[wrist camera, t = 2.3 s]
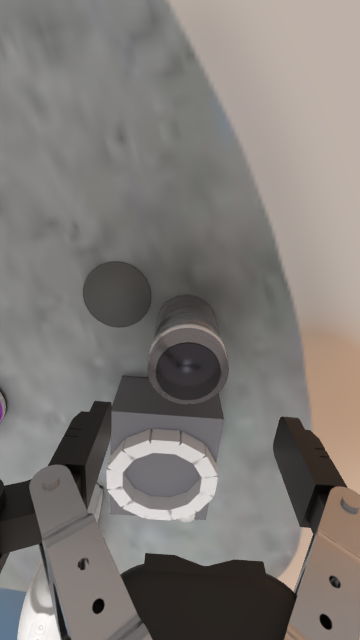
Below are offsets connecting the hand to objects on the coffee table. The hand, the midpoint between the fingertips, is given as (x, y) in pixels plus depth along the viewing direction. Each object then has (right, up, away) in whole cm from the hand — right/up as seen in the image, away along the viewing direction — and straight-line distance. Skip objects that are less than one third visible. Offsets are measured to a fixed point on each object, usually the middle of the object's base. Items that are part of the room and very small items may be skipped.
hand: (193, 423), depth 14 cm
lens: (0, +5, +12) cm, 13 cm away
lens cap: (-6, +7, +11) cm, 14 cm away
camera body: (-2, -6, +16) cm, 17 cm away
